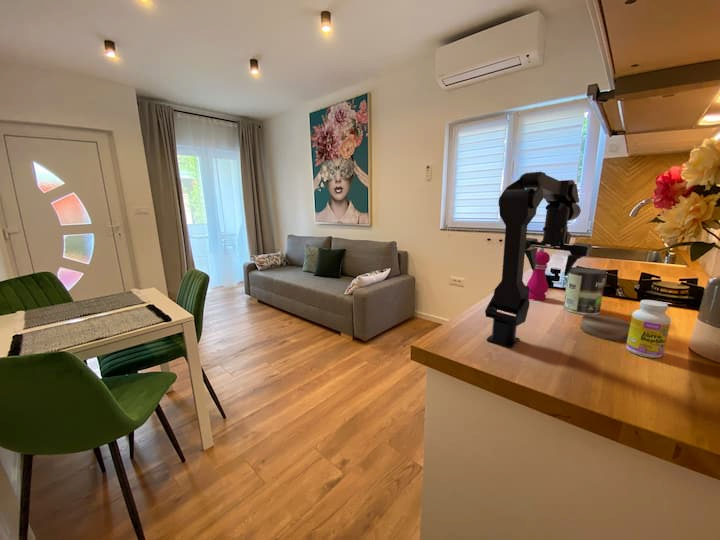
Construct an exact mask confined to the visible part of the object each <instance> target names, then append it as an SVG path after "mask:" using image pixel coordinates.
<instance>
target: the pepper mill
mask: <svg viewBox="0 0 720 540" xmlns="http://www.w3.org/2000/svg"><path fill="white" fill-rule="evenodd" d="M550 261H551V256H550V254H549V253H548V252H546V251H545V248H538V250H537V253H536V266H535V270H532V274H531V276H530V278H529V280H528V281H527V284H526V286H528V287H529V289H530V291H529V298H530V299H529V300H531V299H534V300H533V301H537V300H543V301H545V300H546V298H547V294H545V293H547V292H548V291H549V284H548V281H547V277H546V269H548V263H549V262H550Z"/></svg>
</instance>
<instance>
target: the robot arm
mask: <svg viewBox="0 0 720 540" xmlns="http://www.w3.org/2000/svg"><path fill="white" fill-rule="evenodd" d="M543 199H544V200H545V202H547V205H546V206H545V210H546V214H545V220H544V221H545V222H544V227H542V231H543V236H542V240H541V241H539V240H538V238H535V237H532V238H531V237H527V233H528V225H530V223H531V221H532V220H533V219H534V218H535V217H536V215H537V209H538V207H539V205H540V204H541V202H542V201H543ZM579 203H580V198H579V191H578V185H577V183H576V182H575V181H574V180H573V179H565V180H559V179H556V178H554V177H551V176H549V175H547V174H546V172H542V171H531V172H525V173H524V174H522V175H520V177H519V178H518V179H517V180H516V181H514V182H512V183H510V184H509V185H508V186H507V187H506V188H505V189H504V190H503V191H502V193H501V195H500V196H499V198H498V209H499V216H500V219H501V220H502V222H503V224H504V225H505V229H504V230H505V231H504V245H503V258H502V259H503V260H502V273H501V281H500V282H499V283H498V284H497V286H496V287H495V288H494V290H493V291H494V292H493V295H492V297H491V299H490V300H489V303H488V304H487V306H486V308H485V311H484V314H485V317H486V318H490V319H493V320H492V330H491V335H489V336H488V337H487V338H486V341H487V342H490V343H494V344H497V345H500V346H504V347H506V348H510V349H511V348H513V347H515V346H516V344H517V343H519V342H520V340H521V338H519V337H516V335H517V327H518V326H520V325H521V324H523V323H525V322H526V319H527V316H528V312H529V308H530V299H529V291H530V289H529V287H528V286H527V285H525V283H524V282H523V281H524V280H523V278H524V268H525V265H524V264H525V255H526V258H527V260H528V262H529V266H530V268H531V270H532V271H533V270H535V266H536V253H537V251H538V250H539V248H544V249H548V250H557V251H565V252H569V253H570V254H569V255H567V259H566V263H565V264H566V265H565V268H564V269H565V270H564V276H565V277H568V273H569V271H570V270H571V268H572V267H573V266H574V265H575V263H576V262H577V261H578V259H582V258H583V257H587V256H589V255H590V254H592V253H593V252H592V251H593V246H592V244H591V243H583V242H574V243H573V244H570V242H571V237H572V233H570V232H569V231H568V230H569V229H568V227H569V226H568V222H569V221H572V220H575V219H577V218H578V217H579V216H580V214H581V212H582V211H581V206H580V204H579ZM500 311H501V312H500ZM508 313H509V314H508ZM511 314H512V315H511Z"/></svg>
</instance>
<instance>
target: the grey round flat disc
mask: <svg viewBox="0 0 720 540" xmlns="http://www.w3.org/2000/svg"><path fill="white" fill-rule="evenodd" d="M580 324H581V325H580V329H581V331H582V332H583V333H584V334H587V335H589V336H591V337H594V338H596V339H600V340H601V339H602V340H605V341H614V342H627V338H628V333H629V328H630V324H631V322H628V321H626V320H623V319H620V318H617V317H614V316H608V315H602V314H598V315H582V318H581V323H580Z"/></svg>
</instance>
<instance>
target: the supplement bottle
mask: <svg viewBox="0 0 720 540" xmlns="http://www.w3.org/2000/svg"><path fill="white" fill-rule="evenodd" d="M668 306H669V304H668V303H665V302H662V301H658V300H653V299H642V300H640V302H639V308H640V309H636V310H634V311H633V312H632V315H631V319H630V328H629V333H628V338H627V341H626V344H625V347H626V349H627V351H629V352H630V353H633V354H635V355H637V356H641V357H644V358H651V359H658V358H662V357H663V355H664V352H665V347H666V343H667V338H668V334H669V330H670V327H671V323H672V321H671V317H670V316H669V315H668V314H666V311H668Z"/></svg>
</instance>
